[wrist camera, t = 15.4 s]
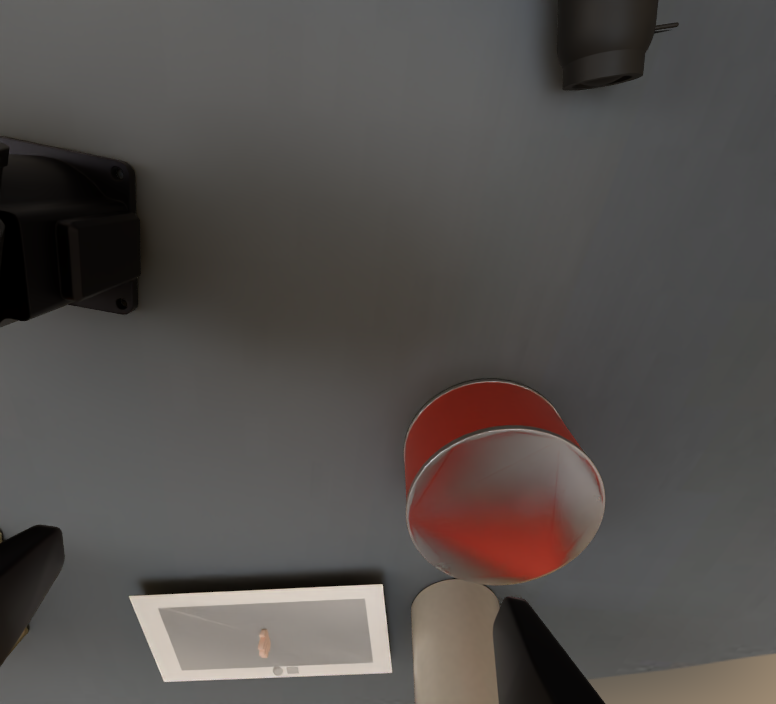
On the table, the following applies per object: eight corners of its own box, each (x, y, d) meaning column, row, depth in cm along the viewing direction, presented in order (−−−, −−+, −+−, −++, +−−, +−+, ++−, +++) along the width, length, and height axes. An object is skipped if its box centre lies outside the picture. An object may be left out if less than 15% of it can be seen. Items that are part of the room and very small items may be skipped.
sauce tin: (389, 501, 24) (388, 570, 20) (423, 364, 21) (431, 412, 17) (535, 525, 25) (565, 597, 21) (589, 394, 22) (637, 448, 18)
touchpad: (138, 580, 27) (118, 613, 25) (382, 568, 26) (382, 601, 24) (171, 664, 30) (156, 699, 28) (392, 655, 29) (392, 690, 27)
